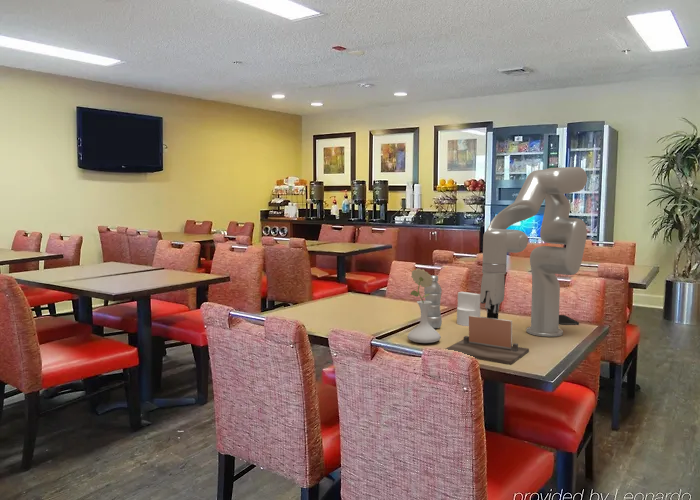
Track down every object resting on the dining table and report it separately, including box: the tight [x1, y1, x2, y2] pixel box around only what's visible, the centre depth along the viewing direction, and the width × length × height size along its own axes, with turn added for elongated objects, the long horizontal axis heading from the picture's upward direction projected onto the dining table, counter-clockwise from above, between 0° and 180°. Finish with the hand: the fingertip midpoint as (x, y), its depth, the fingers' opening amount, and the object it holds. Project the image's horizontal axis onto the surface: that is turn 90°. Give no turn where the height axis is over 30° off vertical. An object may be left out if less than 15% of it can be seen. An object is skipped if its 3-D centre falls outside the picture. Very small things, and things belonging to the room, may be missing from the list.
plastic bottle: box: [423, 274, 443, 329], centre depth 209 cm, size 6×7×20 cm
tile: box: [468, 315, 513, 350], centre depth 179 cm, size 9×14×1 cm
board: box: [445, 335, 530, 366], centre depth 177 cm, size 17×22×3 cm
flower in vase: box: [407, 268, 442, 344], centre depth 190 cm, size 13×11×25 cm
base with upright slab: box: [456, 291, 481, 327], centre depth 217 cm, size 9×9×12 cm
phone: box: [559, 314, 580, 326], centre depth 222 cm, size 8×1×15 cm
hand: (492, 324), depth 181 cm, fingers closed
